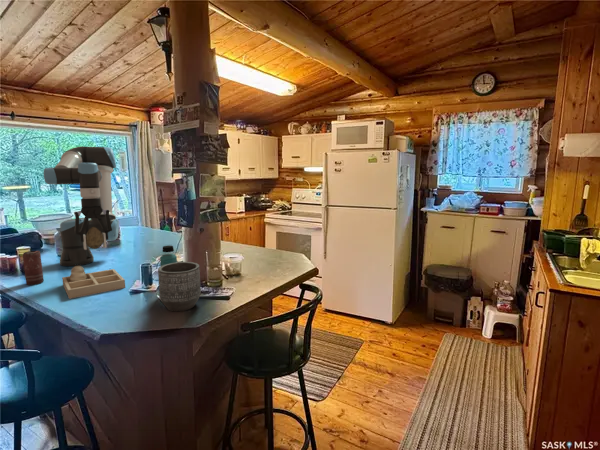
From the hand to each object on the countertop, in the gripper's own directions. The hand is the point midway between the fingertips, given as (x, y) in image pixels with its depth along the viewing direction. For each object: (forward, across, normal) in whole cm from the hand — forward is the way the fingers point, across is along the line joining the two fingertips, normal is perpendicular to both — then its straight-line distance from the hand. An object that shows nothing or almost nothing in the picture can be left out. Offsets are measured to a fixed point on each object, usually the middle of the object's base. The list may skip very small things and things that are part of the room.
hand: (95, 247), depth 158 cm
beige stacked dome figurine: (+13, -8, -8) cm, 18 cm away
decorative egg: (+1, 0, 0) cm, 1 cm away
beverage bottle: (+15, +19, -43) cm, 49 cm away
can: (+14, -23, +8) cm, 28 cm away
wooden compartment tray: (+14, -4, -13) cm, 20 cm away
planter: (+15, +18, -57) cm, 62 cm away
